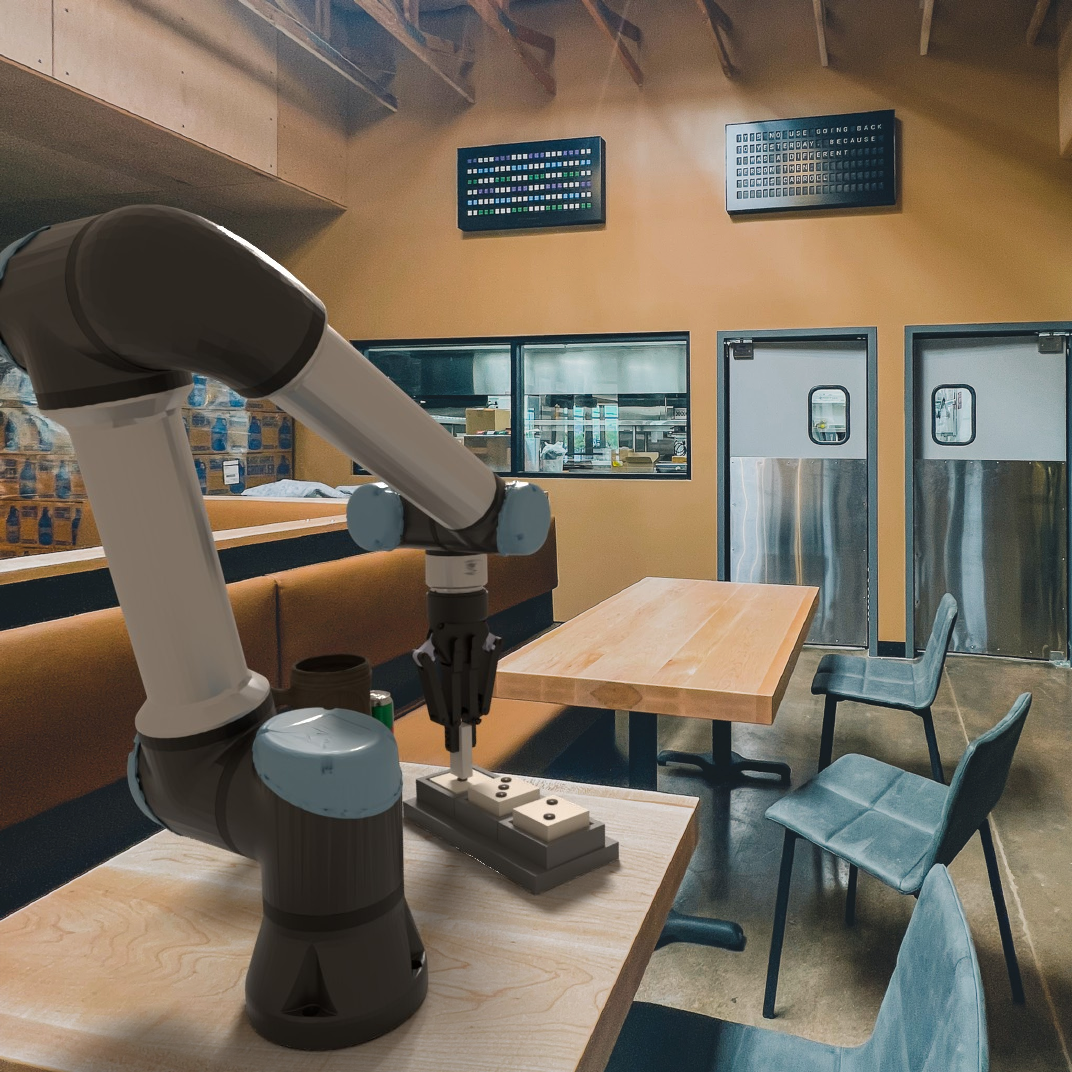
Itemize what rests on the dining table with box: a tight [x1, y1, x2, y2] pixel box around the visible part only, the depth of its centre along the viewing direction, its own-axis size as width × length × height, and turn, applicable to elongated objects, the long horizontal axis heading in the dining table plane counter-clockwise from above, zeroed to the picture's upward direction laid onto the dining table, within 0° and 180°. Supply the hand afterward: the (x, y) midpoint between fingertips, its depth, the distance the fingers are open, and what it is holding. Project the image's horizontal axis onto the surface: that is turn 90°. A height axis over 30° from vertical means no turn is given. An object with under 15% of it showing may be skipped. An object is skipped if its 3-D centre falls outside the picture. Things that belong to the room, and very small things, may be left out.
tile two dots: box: [513, 794, 590, 842], centre depth 99 cm, size 6×6×3 cm
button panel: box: [402, 763, 620, 896], centre depth 106 cm, size 12×26×4 cm, turn 39°
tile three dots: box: [468, 773, 541, 817], centre depth 105 cm, size 6×6×3 cm
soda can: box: [370, 690, 395, 736], centre depth 124 cm, size 5×5×12 cm
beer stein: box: [270, 653, 373, 717], centre depth 111 cm, size 15×11×20 cm
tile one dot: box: [429, 770, 493, 795], centre depth 112 cm, size 6×6×3 cm
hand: (461, 774), depth 112 cm, fingers closed
